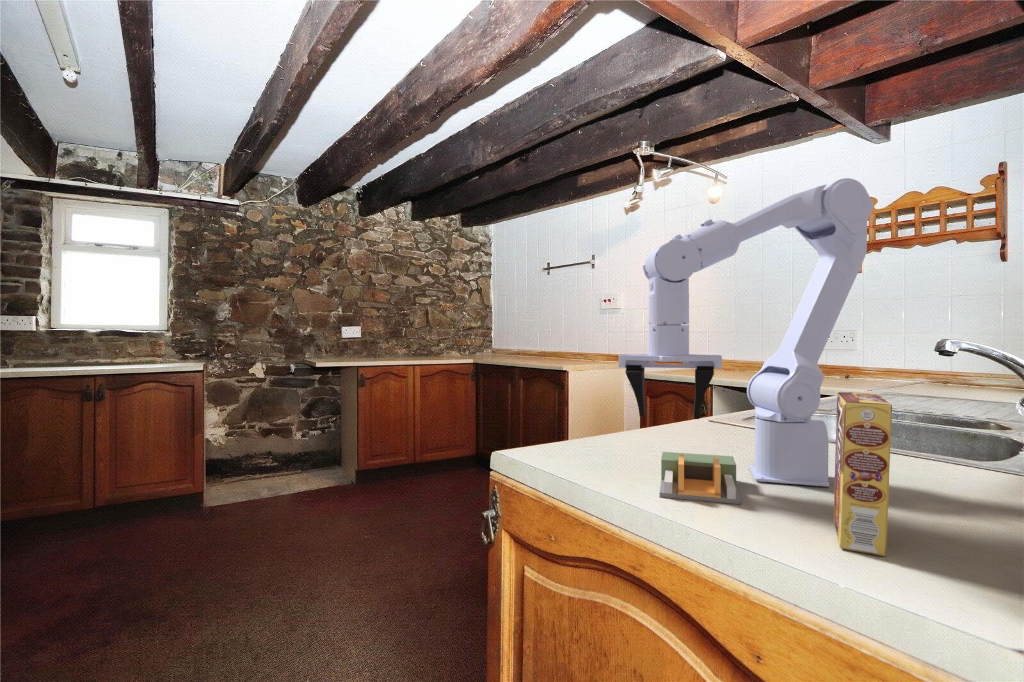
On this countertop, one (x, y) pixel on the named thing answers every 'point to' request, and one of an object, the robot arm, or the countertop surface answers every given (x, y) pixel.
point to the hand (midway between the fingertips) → (668, 416)
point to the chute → (700, 482)
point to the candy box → (862, 472)
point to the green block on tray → (698, 476)
